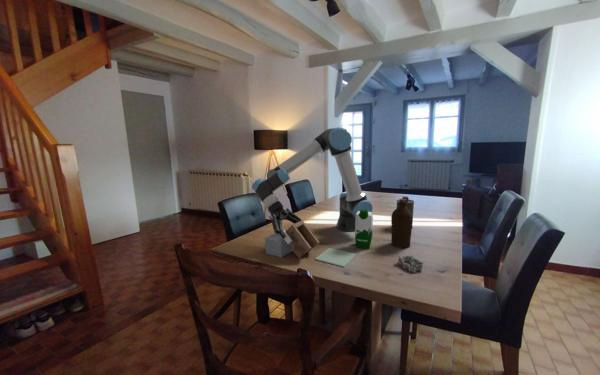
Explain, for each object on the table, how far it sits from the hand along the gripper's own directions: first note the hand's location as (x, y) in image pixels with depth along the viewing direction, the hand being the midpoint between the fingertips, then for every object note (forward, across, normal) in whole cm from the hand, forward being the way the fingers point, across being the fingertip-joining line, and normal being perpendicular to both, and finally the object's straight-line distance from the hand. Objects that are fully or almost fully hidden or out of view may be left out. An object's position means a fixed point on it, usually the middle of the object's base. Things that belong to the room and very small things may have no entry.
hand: (298, 238), depth 133 cm
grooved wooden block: (+7, 0, -5) cm, 9 cm away
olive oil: (+34, -39, +23) cm, 56 cm away
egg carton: (+41, -15, +29) cm, 53 cm away
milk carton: (+23, -27, +11) cm, 37 cm away
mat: (+18, -6, +7) cm, 21 cm away
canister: (+31, -70, +19) cm, 78 cm away
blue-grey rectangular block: (-1, 0, -13) cm, 13 cm away
